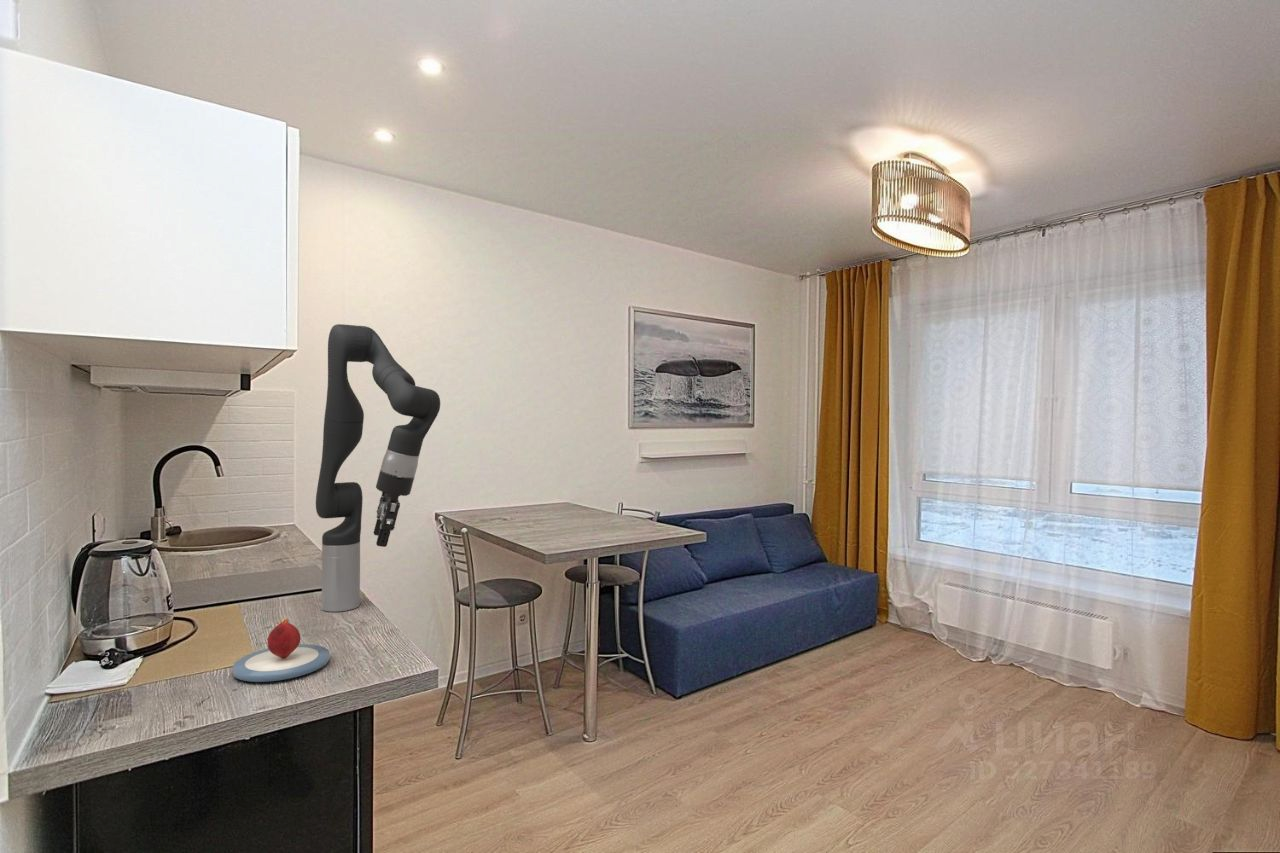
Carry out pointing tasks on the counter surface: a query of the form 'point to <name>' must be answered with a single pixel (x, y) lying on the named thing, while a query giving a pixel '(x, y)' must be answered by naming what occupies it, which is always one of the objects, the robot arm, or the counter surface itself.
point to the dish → (280, 664)
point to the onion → (283, 639)
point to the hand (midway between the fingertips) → (379, 540)
